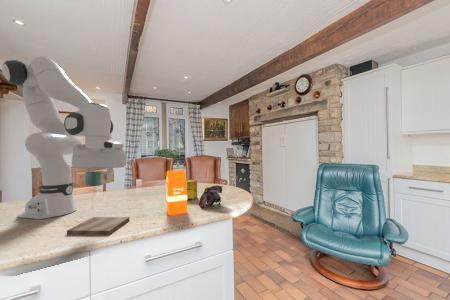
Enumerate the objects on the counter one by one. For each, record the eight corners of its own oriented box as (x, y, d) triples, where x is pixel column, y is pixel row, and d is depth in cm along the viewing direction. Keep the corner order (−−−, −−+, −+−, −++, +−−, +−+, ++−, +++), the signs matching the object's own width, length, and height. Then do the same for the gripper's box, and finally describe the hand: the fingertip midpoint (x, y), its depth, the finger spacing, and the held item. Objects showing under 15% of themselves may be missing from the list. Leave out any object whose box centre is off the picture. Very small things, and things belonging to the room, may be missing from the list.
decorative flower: (198, 184, 116) (223, 177, 113) (206, 202, 119) (230, 195, 116) (191, 198, 102) (219, 190, 99) (200, 217, 105) (227, 210, 102)
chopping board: (66, 234, 75) (66, 230, 75) (93, 220, 89) (93, 217, 89) (109, 234, 74) (109, 230, 74) (129, 220, 88) (129, 217, 88)
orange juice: (166, 210, 102) (165, 170, 101) (184, 208, 105) (183, 169, 105) (168, 215, 94) (167, 171, 94) (187, 212, 98) (186, 170, 98)
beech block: (102, 181, 87) (85, 185, 77) (102, 169, 87) (85, 172, 77) (114, 181, 87) (98, 185, 77) (114, 169, 87) (98, 172, 77)
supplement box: (194, 200, 120) (193, 181, 120) (184, 199, 121) (184, 181, 121) (197, 197, 126) (197, 179, 126) (188, 197, 127) (188, 179, 127)
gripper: (66, 144, 78) (67, 180, 78) (119, 143, 77) (119, 180, 78) (79, 144, 85) (80, 178, 85) (127, 143, 84) (128, 177, 84)
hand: (99, 179), depth 81 cm, fingers closed on beech block, 5 cm apart
